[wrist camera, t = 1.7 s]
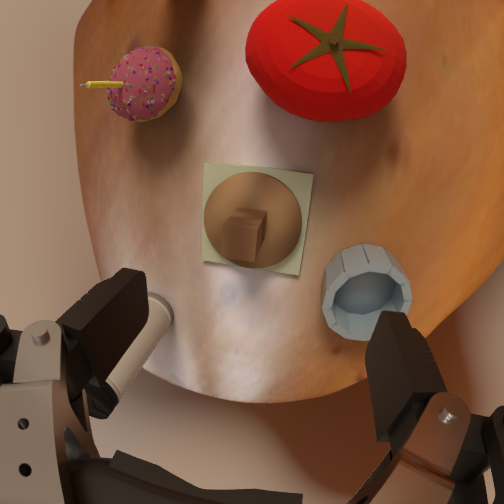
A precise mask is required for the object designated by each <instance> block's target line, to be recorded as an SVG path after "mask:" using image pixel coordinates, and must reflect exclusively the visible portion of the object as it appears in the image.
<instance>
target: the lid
mask: <svg viewBox="0 0 504 504" xmlns="http://www.w3.org/2000/svg"><path fill="white" fill-rule="evenodd" d="M204 227H205V231H206V234H207V237H208V239H209V241H210V243H211V244H212V246H213V247H214V248H215V250H216V251H217V252H218V253H219V254H220V255H221V257H224V258H225V259H227V260H228V261H230V262H232V263H234V264H236V265H239V266H242V267H246V268H265V267H269V266H273V265H275V264H277V263H279V262H281V261H282V260H284V259H285V258H286V257H288V256H289V255H290V254H291V252H292V251H293V250H294V248H295V247H296V245H297V243H298V241H299V238H300V235H301V230H302V213H301V208H300V206H299V203H298V201H297V199H296V197H295V195H294V194H293V192H292V191H291V190H290V189H289V188H288V187H287V186H286V185H285V184H284V183H283V182H281V181H280V180H278V179H277V178H275V177H273V176H270V175H267V174H264V173H259V172H244V173H239V174H236V175H233V176H231V177H229V178H227V179H226V180H224V181H223V182H221V183H220V184H219V185H218V186H217V187H216V188H215V189H214V190H213V191H212V193H211V194H210V196H209V198H208V199H207V202H206V205H205V209H204Z"/></svg>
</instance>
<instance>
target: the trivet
mask: <svg viewBox="0 0 504 504" xmlns="http://www.w3.org/2000/svg"><path fill="white" fill-rule="evenodd" d="M244 172H259V173H264V174H267V175H270V176H273V177H275V178H277V179H278V180H280V181H281V182H283V183H284V184H285V185H286V186H287V187H288V188H289V189H290V190H291V191H292V192H293V194H294V195H295V197H296V199H297V201H298V203H299V206H300V208H301V213H302V230H301V235H300V238H299V241H298V243H297V245H296V247H295V248H294V250H293V251H292V252H291V254H290V255H289V256H288V257H286V258H285V259H284V260H282V261H281V262H279V263H277V264H275V265H273V266H269V267H265V268H253V269H260V270H266V271H273V272H279V273H286V274H292V275H299V271H300V265H301V259H302V253H303V246H304V240H305V233H306V227H307V220H308V213H309V206H310V199H311V191H312V184H313V176H314V174H312V173H304V172H297V171H290V170H282V169H273V168H264V167H255V166H245V165H234V164H222V163H209V162H205V163H204V174H203V207H202V260H204V261H210V262H216V263H222V264H228V265H235V266H239V265H236V264H234V263H232V262H230V261H228V260H227V259H225V258H224V257H221V255H220V254H219V253H218V252H217V251H216V250H215V248H214V247H213V246H212V244H211V243H210V241H209V239H208V237H207V234H206V231H205V227H204V209H205V205H206V202H207V199H208V198H209V196H210V194H211V193H212V191H213V190H214V189H215V188H216V187H217V186H218V185H219V184H220V183H221V182H223V181H224V180H226V179H227V178H229V177H231V176H233V175H236V174H239V173H244ZM241 267H242V266H241Z"/></svg>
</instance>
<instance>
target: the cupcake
mask: <svg viewBox="0 0 504 504" xmlns="http://www.w3.org/2000/svg"><path fill="white" fill-rule="evenodd" d="M110 77H111V78H110V80H109V81H88V82H87V84H81V85H80V86H86V87H87V88H107V89H108V91H107V92H108V93H107V92H106V93H107V94H108V96H107V97H108V100H109V103H111V105H110V107H111V106H112V107H113V108H112V110H114V111H115V114H118V115H120V116H122V117H123V118H126V119H129V120H130V121H136V122H146V121H149V120H152V119H155V118H159V117H161V116H162V115H163V114H164V113H165V112H166V111H168V109H170V108H171V107H172V106H173V105H174V104H175V103H176V101H177V99H178V95H179V92H180V90H181V87H182V74H181V71H180V68H179V66H178V64H177V62H176V61H175V59H174V56H173V55H172V54H171V53H170V52H169V51H167V50H166V49H164V48H161V47H152V46H150V47H148V46H146V47H142V48H135V50H133V51H132V52H129V53H128V54H127V55H125V56H124V57H123V58H122V59H121V60H119V62H118V64H117V66H116V67H114V69H113V70H112V75H111V76H110Z"/></svg>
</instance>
